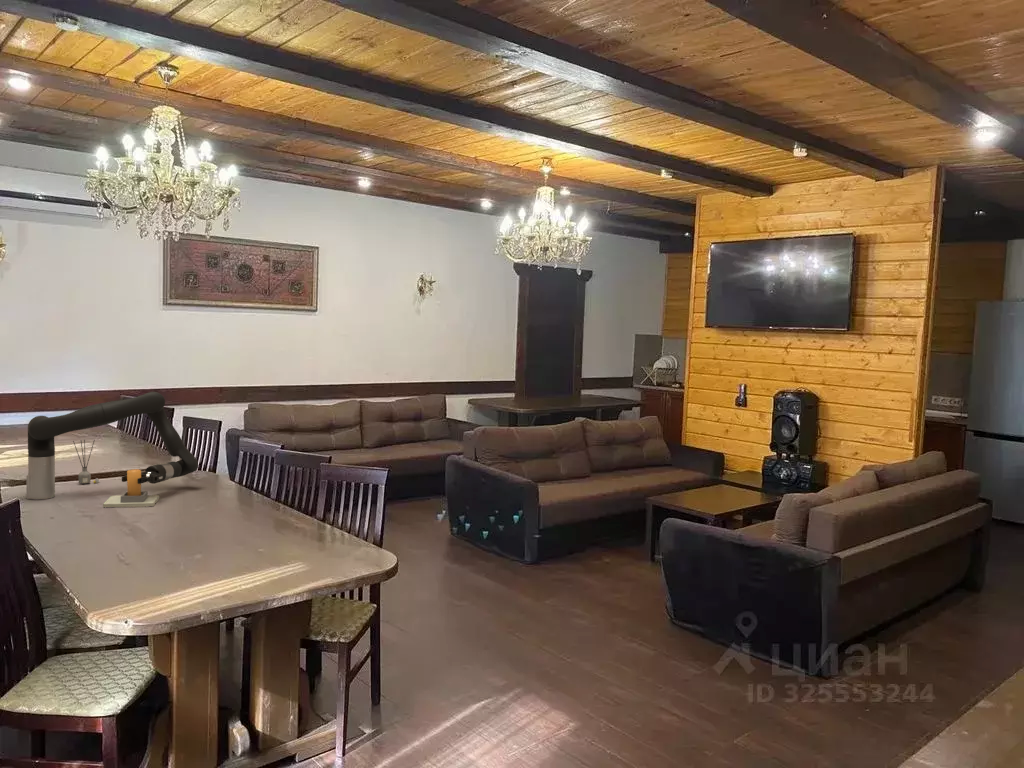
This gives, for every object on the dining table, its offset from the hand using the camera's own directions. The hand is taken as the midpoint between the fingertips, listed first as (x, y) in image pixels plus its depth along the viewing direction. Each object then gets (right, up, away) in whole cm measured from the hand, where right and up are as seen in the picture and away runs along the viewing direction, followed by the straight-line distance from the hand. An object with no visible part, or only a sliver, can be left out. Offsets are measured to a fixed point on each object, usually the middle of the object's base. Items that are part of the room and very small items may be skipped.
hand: (130, 480), depth 301 cm
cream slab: (-1, -10, +4) cm, 10 cm away
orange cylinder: (0, -8, +3) cm, 9 cm away
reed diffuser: (-37, -6, +34) cm, 50 cm away
